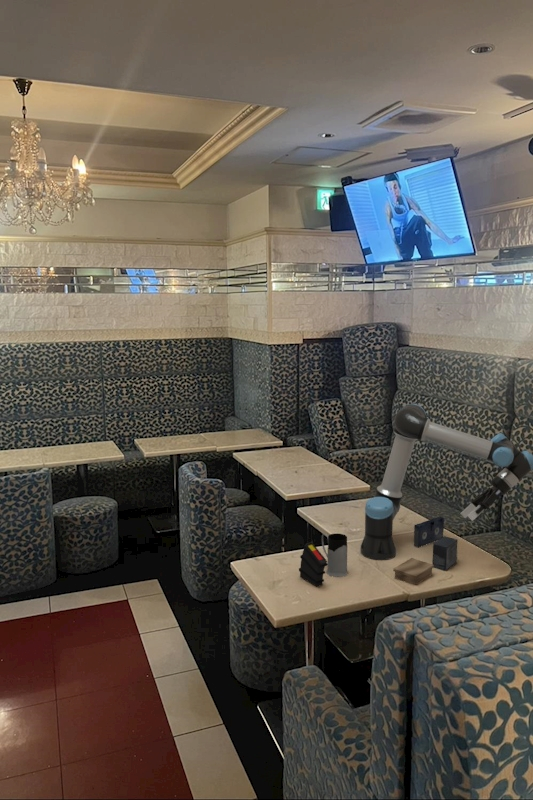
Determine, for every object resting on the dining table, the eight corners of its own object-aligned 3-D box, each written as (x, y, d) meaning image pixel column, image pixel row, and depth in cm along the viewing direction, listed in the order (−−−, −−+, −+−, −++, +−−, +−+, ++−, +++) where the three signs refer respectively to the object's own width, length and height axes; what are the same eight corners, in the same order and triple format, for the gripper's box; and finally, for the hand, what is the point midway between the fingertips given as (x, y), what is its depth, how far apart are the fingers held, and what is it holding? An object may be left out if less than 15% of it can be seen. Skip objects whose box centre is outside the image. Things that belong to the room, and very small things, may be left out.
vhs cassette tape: (439, 536, 286) (439, 516, 284) (444, 538, 283) (445, 517, 282) (412, 546, 275) (413, 524, 274) (417, 548, 273) (418, 526, 271)
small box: (442, 559, 261) (443, 535, 259) (457, 563, 257) (458, 539, 255) (431, 567, 253) (432, 542, 251) (446, 571, 249) (447, 546, 247)
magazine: (301, 568, 249) (311, 541, 241) (320, 592, 240) (331, 565, 232) (294, 570, 247) (304, 543, 239) (312, 595, 238) (323, 567, 230)
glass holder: (335, 579, 242) (336, 542, 240) (313, 566, 254) (313, 531, 252) (352, 573, 247) (353, 538, 245) (330, 561, 259) (330, 527, 256)
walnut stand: (393, 578, 243) (393, 568, 242) (411, 567, 253) (411, 557, 252) (415, 586, 236) (416, 576, 235) (433, 574, 246) (433, 564, 246)
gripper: (520, 489, 240) (479, 526, 240) (502, 487, 265) (466, 521, 265) (505, 475, 241) (466, 512, 241) (489, 474, 266) (453, 508, 266)
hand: (466, 517), depth 253 cm, fingers open, 13 cm apart
